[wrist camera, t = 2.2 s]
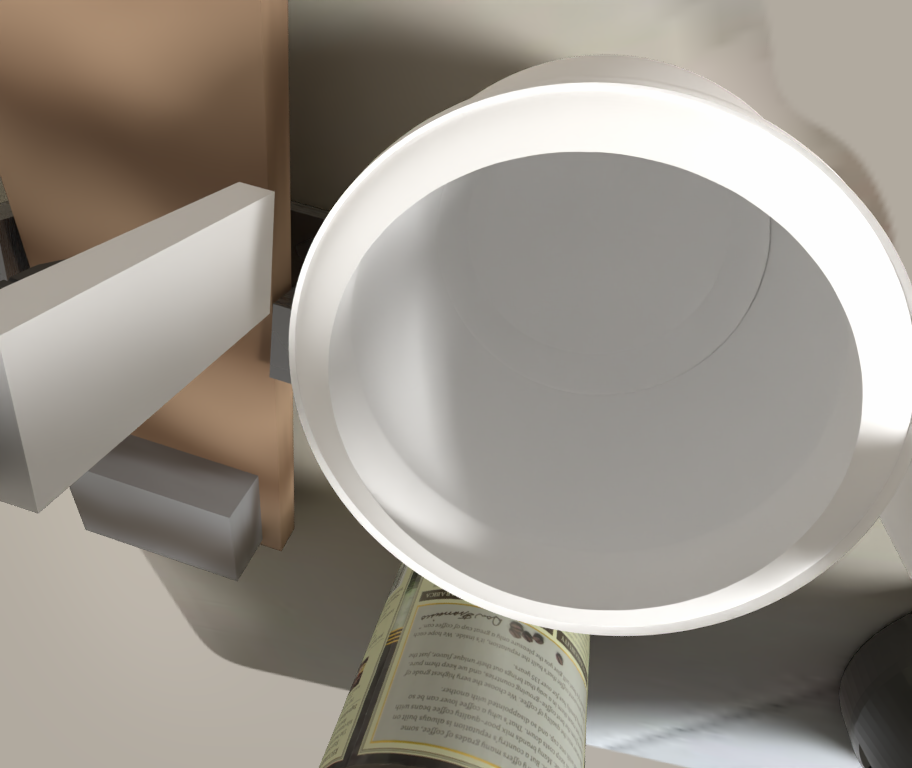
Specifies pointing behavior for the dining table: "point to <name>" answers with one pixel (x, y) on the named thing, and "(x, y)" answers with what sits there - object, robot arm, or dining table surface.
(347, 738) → the coffee can
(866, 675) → the robot arm
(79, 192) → the beam
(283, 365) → the pivot stand
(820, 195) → the jar
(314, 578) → the dining table surface
